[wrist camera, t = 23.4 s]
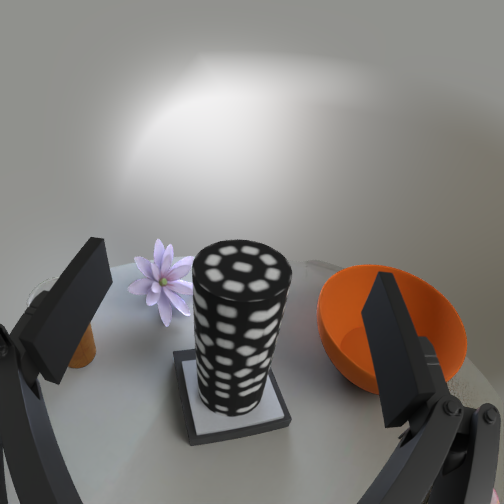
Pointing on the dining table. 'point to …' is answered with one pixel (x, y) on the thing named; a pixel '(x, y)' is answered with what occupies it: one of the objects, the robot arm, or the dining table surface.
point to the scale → (222, 427)
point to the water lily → (163, 281)
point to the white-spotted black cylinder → (237, 321)
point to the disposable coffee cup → (86, 345)
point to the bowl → (353, 331)
